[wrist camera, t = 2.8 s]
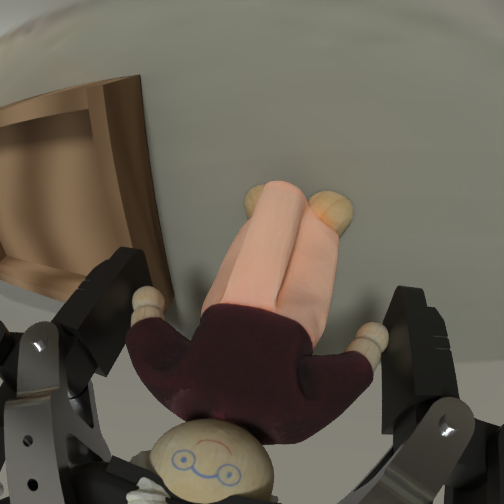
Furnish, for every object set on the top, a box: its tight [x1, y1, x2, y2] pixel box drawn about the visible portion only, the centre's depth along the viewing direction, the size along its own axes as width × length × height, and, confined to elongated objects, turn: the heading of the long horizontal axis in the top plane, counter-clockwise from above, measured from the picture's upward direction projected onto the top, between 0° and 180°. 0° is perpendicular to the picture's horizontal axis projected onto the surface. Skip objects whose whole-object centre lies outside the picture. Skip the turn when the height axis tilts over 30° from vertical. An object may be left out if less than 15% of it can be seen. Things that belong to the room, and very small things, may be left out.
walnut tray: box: [0, 75, 174, 315], centre depth 15 cm, size 16×12×2 cm
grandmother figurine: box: [125, 181, 389, 504], centre depth 8 cm, size 8×4×13 cm, turn 100°
